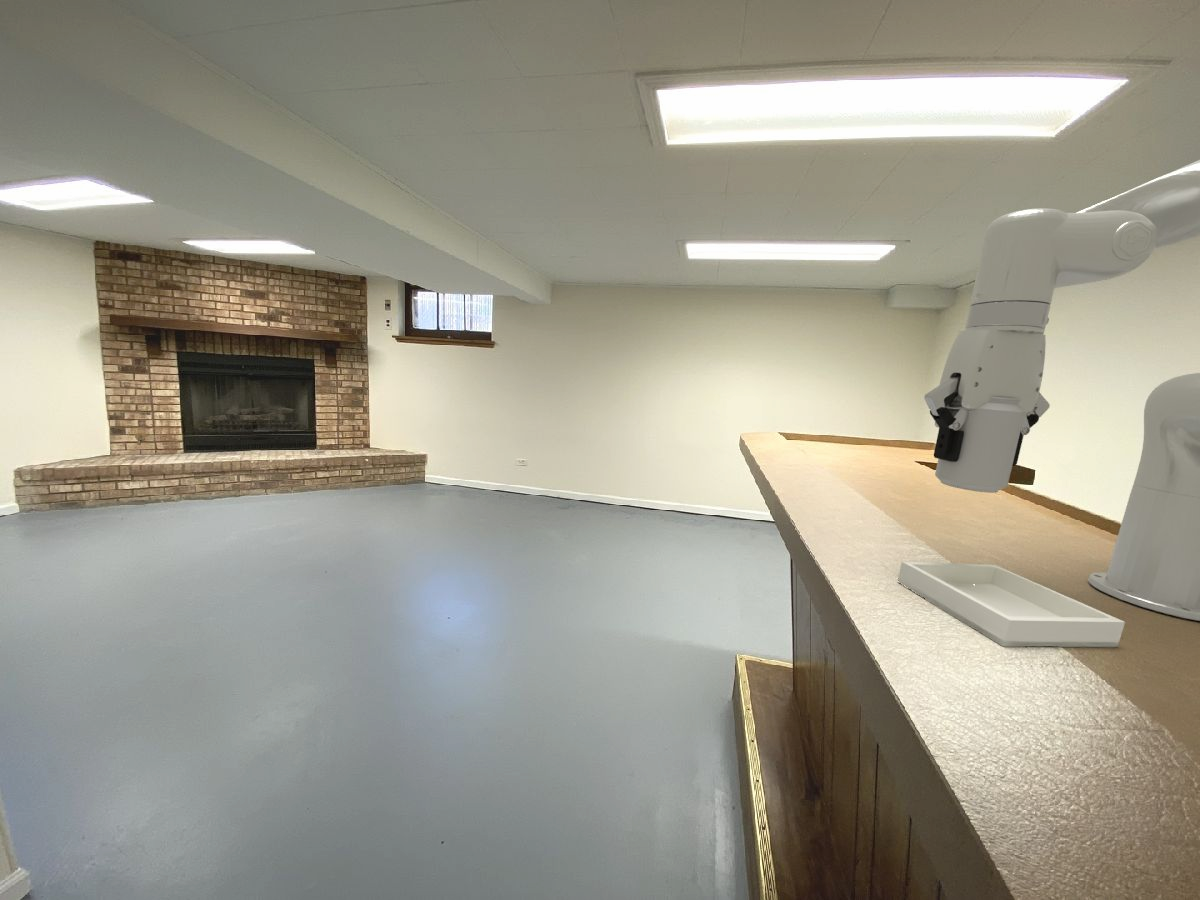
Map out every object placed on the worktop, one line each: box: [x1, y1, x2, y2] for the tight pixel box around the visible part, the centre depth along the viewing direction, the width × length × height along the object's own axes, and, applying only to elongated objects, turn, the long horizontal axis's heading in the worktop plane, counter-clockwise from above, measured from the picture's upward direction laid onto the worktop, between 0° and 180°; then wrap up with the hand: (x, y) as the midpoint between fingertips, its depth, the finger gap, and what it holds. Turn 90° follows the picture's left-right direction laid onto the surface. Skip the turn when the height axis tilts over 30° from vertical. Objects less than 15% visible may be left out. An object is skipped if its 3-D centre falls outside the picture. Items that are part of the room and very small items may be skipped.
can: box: [934, 397, 1025, 494], centre depth 59 cm, size 8×8×12 cm
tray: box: [897, 561, 1126, 648], centre depth 56 cm, size 15×15×3 cm
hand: (974, 460), depth 60 cm, fingers closed on can, 7 cm apart
